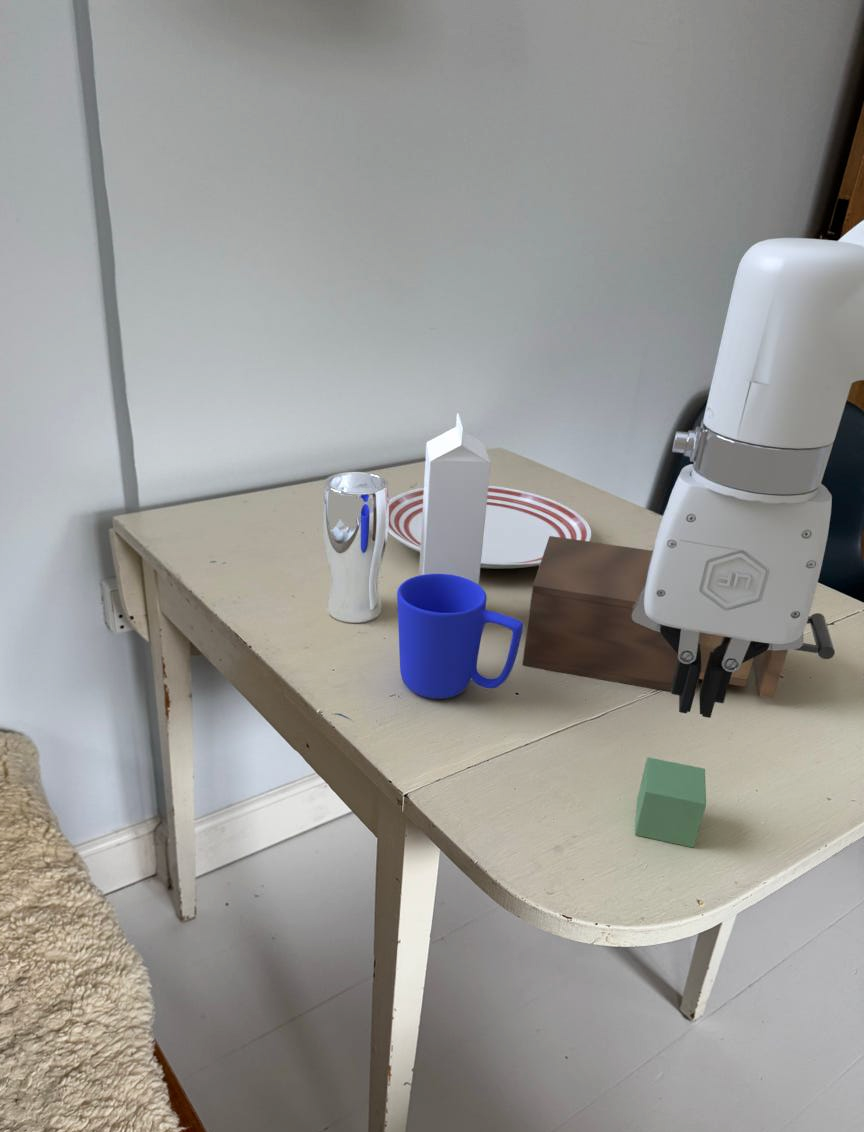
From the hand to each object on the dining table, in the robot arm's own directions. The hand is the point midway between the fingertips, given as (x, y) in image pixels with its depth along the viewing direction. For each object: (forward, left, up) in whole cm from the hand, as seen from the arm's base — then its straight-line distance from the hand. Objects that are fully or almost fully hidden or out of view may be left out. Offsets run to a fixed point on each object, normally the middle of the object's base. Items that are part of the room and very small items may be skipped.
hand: (694, 704), depth 63 cm
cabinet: (+7, -26, -11) cm, 29 cm away
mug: (+20, -13, -12) cm, 26 cm away
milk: (+24, -27, -12) cm, 38 cm away
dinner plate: (+24, -49, -12) cm, 56 cm away
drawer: (-5, -26, -10) cm, 28 cm away
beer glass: (+34, -25, -12) cm, 44 cm away
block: (0, 0, -11) cm, 11 cm away
